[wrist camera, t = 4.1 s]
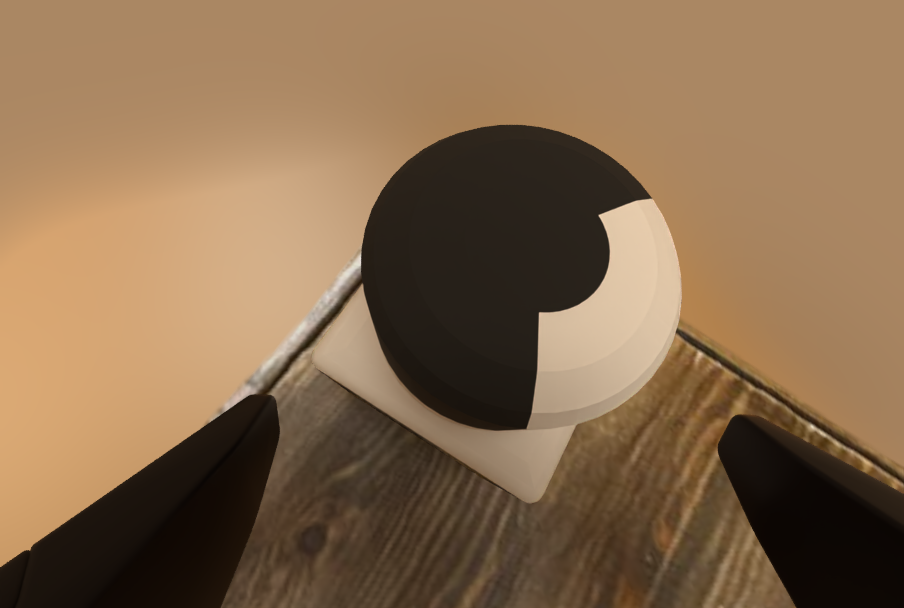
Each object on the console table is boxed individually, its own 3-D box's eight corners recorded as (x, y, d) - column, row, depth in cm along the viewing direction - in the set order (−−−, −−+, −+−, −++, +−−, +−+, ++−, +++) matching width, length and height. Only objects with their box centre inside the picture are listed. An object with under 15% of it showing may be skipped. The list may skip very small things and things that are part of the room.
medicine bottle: (343, 388, 18) (221, 300, 6) (432, 259, 20) (464, 18, 8) (488, 481, 17) (648, 574, 6) (563, 338, 19) (788, 195, 8)
